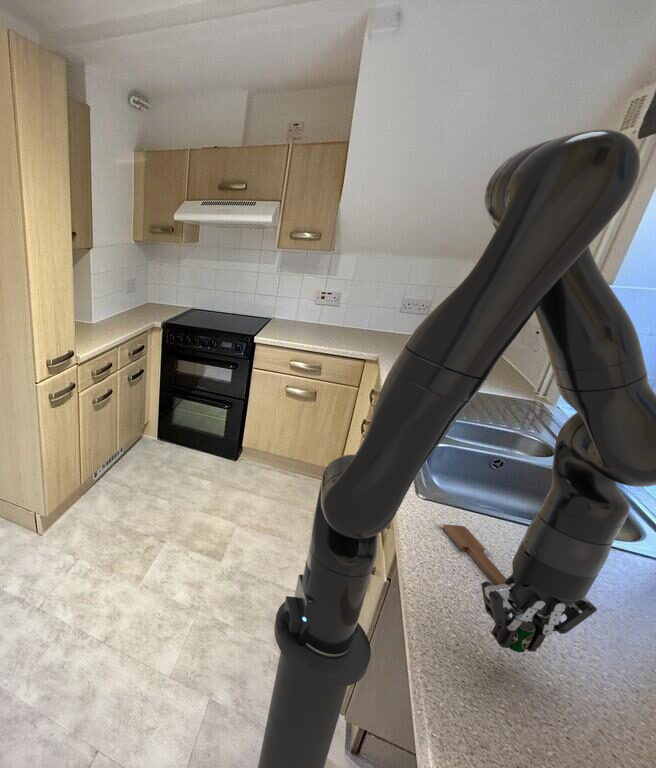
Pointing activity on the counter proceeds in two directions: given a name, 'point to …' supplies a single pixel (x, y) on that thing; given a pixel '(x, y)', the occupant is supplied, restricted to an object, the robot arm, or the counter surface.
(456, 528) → the spatula
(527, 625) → the beer can
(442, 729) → the counter surface
